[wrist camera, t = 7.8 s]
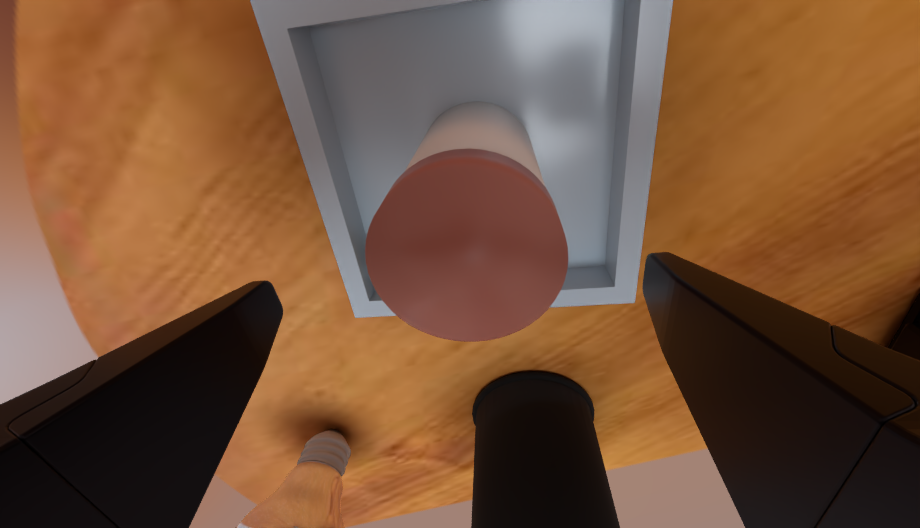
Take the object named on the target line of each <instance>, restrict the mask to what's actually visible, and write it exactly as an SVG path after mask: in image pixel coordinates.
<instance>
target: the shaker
mask: <svg viewBox="0 0 920 528" xmlns="http://www.w3.org/2000/svg"><path fill="white" fill-rule="evenodd" d="M365 258H366V265H367V270H368V274H369V277H370V279H371V282H372V284H373V286H374V288H375V290H376V292H377V294H378V295H379V296H380V298H381V299H382V301H383V302H384V303H385V304H386V305H387V306H388V308H389V309H390V310H391V311H392V312H393V313H395V314H396V315H397V316H398V317H399V318H400V319H402V320H403V321H405V322H406V323H408V324H409V325H411V326H413V327H415V328H416V329H418V330H420V331H423V332H425V333H427V334H430V335H433V336H436V337H440V338H444V339H449V340H455V341H485V340H491V339H496V338H500V337H504V336H507V335H510V334H512V333H515V332H517V331H519V330H521V329H523V328H525V327H526V326H528V325H530V324H531V323H533V322H534V321H535V320H537V319H538V318H539V317H540V316H541V315H542V314H544V313H545V312H546V311H547V310H548V308H549V307H550V306H551V305H552V303H553V302H554V301H555V299H556V298H557V296H558V294H559V293H560V291H561V288H562V286H563V284H564V281H565V277H566V273H567V269H568V245H567V241H566V236H565V233H564V230H563V227H562V224H561V221H560V218H559V215H558V212H557V209H556V207H555V204H554V202H553V199H552V197H551V196H550V194H549V192H548V190H547V189H546V187H545V184H544V181H543V178H542V175H541V172H540V169H539V166H538V162H537V159H536V156H535V153H534V150H533V147H532V144H531V140H530V138H529V135H528V133H527V131H526V129H525V127H524V126H523V125H522V123H521V122H520V121H519V120H518V119H517V118H516V117H515V116H514V115H513V114H512V113H511V112H509V111H508V110H506V109H504V108H503V107H501V106H498V105H496V104H492V103H488V102H480V101H475V102H467V103H462V104H459V105H456V106H454V107H452V108H450V109H448V110H447V111H445V112H444V113H442V114H441V115H440V116H439V117H438V118H437V119H436V120H435V121H434V123H433V124H432V125H431V127H430V128H429V130H428V132H427V133H426V135H425V137H424V139H423V140H422V142H421V144H420V146H419V147H418V149H417V151H416V152H415V154H414V156H413V158H412V159H411V161H410V163H409V165H408V166H407V168H406V170H405V172H404V173H403V174H402V175H401V176H400V177H399V178H398V179H397V180H396V181H395V183H394V184H393V185H392V187H391V189H390V190H389V192H388V194H387V195H386V197H385V198H384V200H383V202H382V203H381V205H380V207H379V208H378V210H377V212H376V213H375V215H374V217H373V219H372V221H371V224H370V226H369V229H368V233H367V237H366V245H365Z"/></svg>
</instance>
